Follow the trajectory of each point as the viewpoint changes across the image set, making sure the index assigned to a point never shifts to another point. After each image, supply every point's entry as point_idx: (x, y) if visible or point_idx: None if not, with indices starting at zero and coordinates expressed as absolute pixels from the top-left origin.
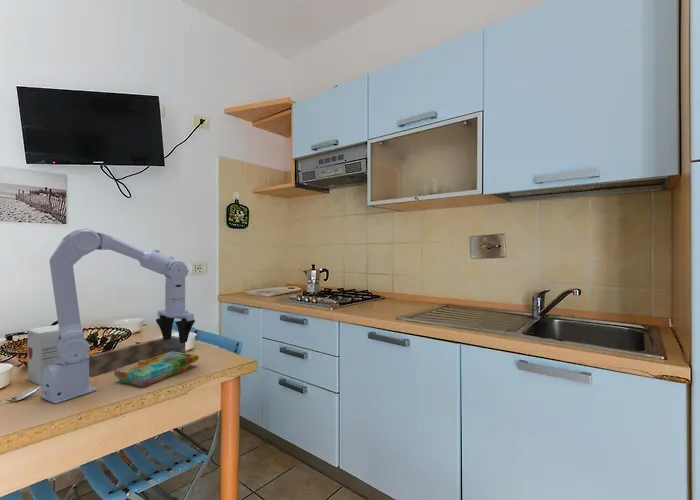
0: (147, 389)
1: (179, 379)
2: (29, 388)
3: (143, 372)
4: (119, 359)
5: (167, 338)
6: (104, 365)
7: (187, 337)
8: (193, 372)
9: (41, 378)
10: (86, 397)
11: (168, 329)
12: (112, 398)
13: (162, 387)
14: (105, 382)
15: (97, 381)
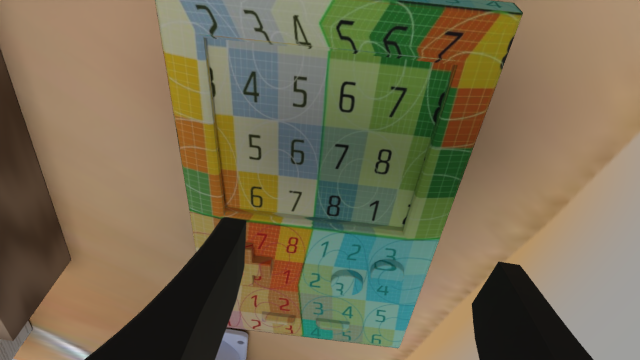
0: (418, 300)
1: (494, 206)
2: (39, 343)
3: (373, 335)
4: (5, 203)
5: (241, 258)
6: (36, 252)
7: (545, 309)
8: (522, 105)
9: (17, 348)
10: (272, 357)
11: (203, 339)
12: (358, 353)
13: (469, 280)
14: None
15: (152, 283)
